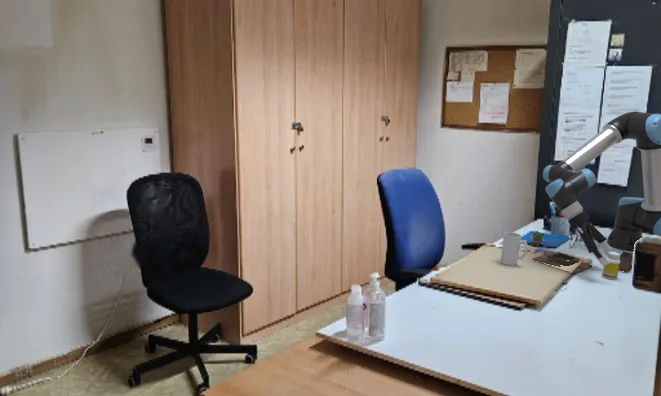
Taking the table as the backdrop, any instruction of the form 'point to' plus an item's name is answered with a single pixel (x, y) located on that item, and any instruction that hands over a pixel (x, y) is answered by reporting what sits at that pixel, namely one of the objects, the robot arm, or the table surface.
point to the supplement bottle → (611, 266)
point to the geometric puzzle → (537, 239)
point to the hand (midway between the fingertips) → (609, 260)
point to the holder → (562, 261)
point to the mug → (512, 248)
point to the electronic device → (625, 261)
